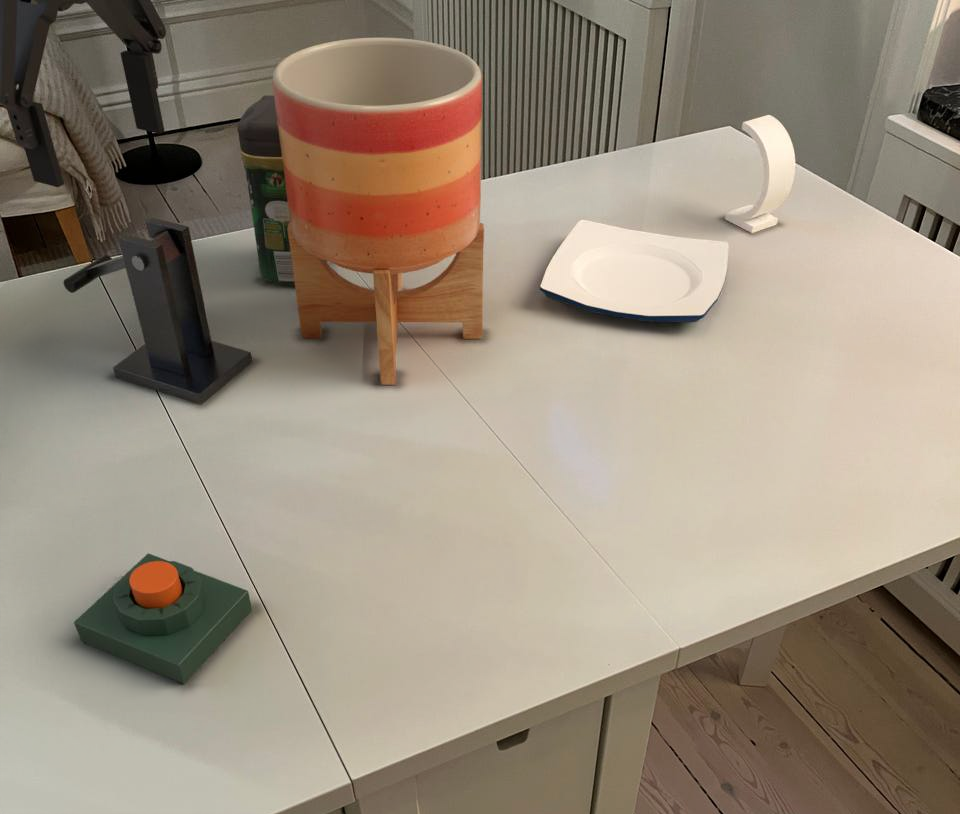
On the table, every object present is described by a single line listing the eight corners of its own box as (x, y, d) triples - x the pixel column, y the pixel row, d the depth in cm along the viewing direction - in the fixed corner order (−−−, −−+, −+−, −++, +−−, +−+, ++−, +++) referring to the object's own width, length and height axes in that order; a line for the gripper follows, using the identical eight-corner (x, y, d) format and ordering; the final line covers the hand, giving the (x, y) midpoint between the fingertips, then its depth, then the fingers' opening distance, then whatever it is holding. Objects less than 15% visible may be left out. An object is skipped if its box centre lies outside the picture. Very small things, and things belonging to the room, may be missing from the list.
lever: (71, 298, 103) (57, 276, 102) (111, 273, 107) (98, 251, 105) (153, 272, 95) (139, 248, 94) (193, 246, 99) (180, 222, 98)
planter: (291, 385, 105) (252, 108, 86) (310, 290, 119) (280, 33, 99) (483, 385, 106) (488, 110, 86) (480, 291, 119) (484, 35, 100)
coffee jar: (270, 249, 126) (246, 87, 112) (333, 251, 126) (317, 89, 112) (253, 287, 119) (226, 119, 106) (320, 290, 119) (302, 122, 105)
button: (124, 600, 78) (118, 583, 77) (154, 571, 80) (149, 555, 79) (162, 615, 77) (157, 598, 76) (191, 586, 79) (187, 569, 78)
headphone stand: (749, 210, 135) (769, 114, 126) (782, 227, 132) (805, 130, 123) (724, 218, 133) (742, 122, 125) (757, 236, 130) (778, 138, 121)
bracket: (115, 377, 106) (75, 239, 95) (169, 337, 111) (138, 202, 101) (201, 404, 103) (170, 264, 92) (253, 361, 108) (229, 225, 97)
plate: (528, 312, 116) (529, 290, 114) (573, 235, 129) (575, 215, 127) (705, 343, 112) (710, 321, 110) (733, 261, 125) (738, 240, 123)
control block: (80, 641, 80) (66, 605, 77) (154, 572, 86) (143, 536, 83) (184, 684, 77) (173, 649, 74) (252, 610, 83) (245, 573, 80)
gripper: (-61, -97, 68) (35, 217, 83) (175, -157, 83) (219, 117, 99) (-141, -110, 70) (-33, 198, 85) (103, -167, 85) (157, 103, 101)
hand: (102, 155), depth 92 cm, fingers open, 13 cm apart
